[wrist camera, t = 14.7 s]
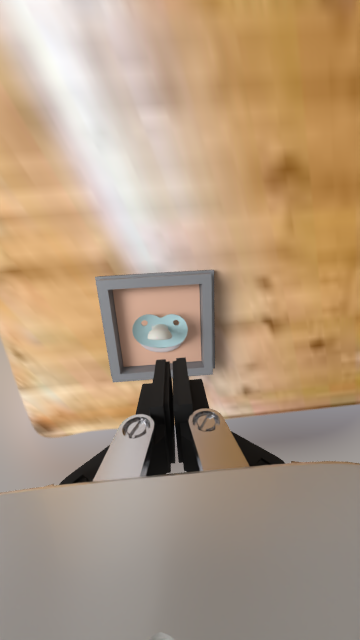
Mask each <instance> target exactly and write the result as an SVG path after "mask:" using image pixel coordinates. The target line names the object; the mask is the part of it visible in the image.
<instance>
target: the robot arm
mask: <svg viewBox="0 0 360 640" xmlns="http://www.w3.org/2000/svg"><path fill="white" fill-rule="evenodd" d="M174 418H175V428H176V438H177V448H178V459H179V463H181V462H183V464H184V471H187V472H184V473H174V474H166V473H169V472H170V471H171V463H175V434H174V432H175V431H174ZM0 640H360V464H359V463H352V462H336V461H322V462H294V461H291V463H287V464H285V463H284V462H283V461H282V460H281V459H279V458H278V457H276V456H275V455H273V454H271V453H269V452H267V451H266V450H264V449H262V448H260V447H259V446H257V445H254V444H253V443H251V442H249V441H248V440H246V439H244V438H242V437H240V436H239V435H237V434H235V433H233V432H231V431H230V429H229V427H228V425H227V424H226V422H225V420H224V418H223V416H222V415H221V414H220V413H219V412H217V411H215V410H213V409H209V406H208V402H207V398H206V394H205V390H204V386H203V382H202V379H196V380H189V377H188V371H187V364H186V357H184V358H176V361H173V390H172V380H171V369H170V361H167V362H166V359H161V360H156V364H155V371H154V378H153V383H150V384H143V385H142V389H141V393H140V398H139V402H138V406H137V411H136V415H134V416H131V417H129V418H127V419H126V420H124V421H123V422H122V424H121V425H120V426H119V428H118V430H117V433H116V435H115V437H114V439H113V441H112V443H111V445H109V446H108V447H107V448H105V449H104V450H103V451H101V452H100V453H99V454H97V455H96V456H94V457H93V458H92V459H90V460H89V461H88V462H86V463H85V464H84V465H82V466H81V467H80V468H78V469H77V470H76V471H74V472H73V473H71V474H70V475H69V476H68V477H66V478H65V479H64V480H63V481H62V482H61V483H60V484H59V485H56V486H54V484H51V485H48V486H45V487H37V488H30V489H23V490H15V491H9V492H1V493H0Z"/></svg>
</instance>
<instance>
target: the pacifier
mask: <svg viewBox="0 0 360 640" xmlns="http://www.w3.org/2000/svg"><path fill="white" fill-rule="evenodd" d="M144 320H146V321H147V322H148V324H147V325H145V326H143V325H142V324H141V322H142V321H144ZM174 320H178V321H179V324H178V325H174V324H173V321H174ZM132 331H133V336H134V338H135V339H136V340H137V341H138V342H139V343H140V344H141V345H142V346H143V347H144V348H145V349H147V350H150V351H153V352H168V351H172V350H174V349H176V348H178V347H179V346H180V345H181V344H182V342H183V340H184V339H185V338H186V336H187V333H188V327H187V324H186V322H185V320H184V319H183V318H182V317H180V316H179V315H176V314H169V315H166V316H164V317H162V318H160V317H158V316H155V315H152V314H146V315H143V316H141V317H139V318H138V319H137V320H136V321H135V323H134V325H133V329H132Z"/></svg>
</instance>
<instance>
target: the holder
mask: <svg viewBox="0 0 360 640" xmlns="http://www.w3.org/2000/svg"><path fill="white" fill-rule="evenodd" d="M95 279H96V285H97V291H98V297H99V303H100V309H101V316H102V322H103V328H104V334H105V340H106V346H107V352H108V358H109V364H110V370H111V376H112V379H113V382H123V381H136V380H148V379H153V378H154V371H155V364H156V360H161V359H166V362H167V361H170V369H171V378H173V361H176V358H184V357H186V364H187V371H188V376H198V375H210V374H213V368H215V341H214V270H200V271H183V272H166V273H149V274H132V275H115V276H98V277H95ZM146 314H152V315H155V316H158V317H160V318H162V317H164V316H166V315H169V314H176V315H179V316H180V317H182V318H183V319H184V320H185V322H186V324H187V327H188V333H187V336H186V338H185V339H184V340H183V342H182V344H181V345H180V346H179V347H178V348H176V349H174V350H172V351H168V352H153V351H150V350H147V349H145V348H144V347H143V346H142V345H141V344H140V343H139V342H138V341H137V340H136V339H135V338H134V336H133V331H132V329H133V325H134V323H135V321H136V320H137V319H138V318H139V317H141V316H143V315H146ZM141 324H142V325H143V326H145V325H147V324H148V322H147V321H146V320H144V321H142V322H141ZM173 324H174V325H178V324H179V321H178V320H174V321H173Z"/></svg>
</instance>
